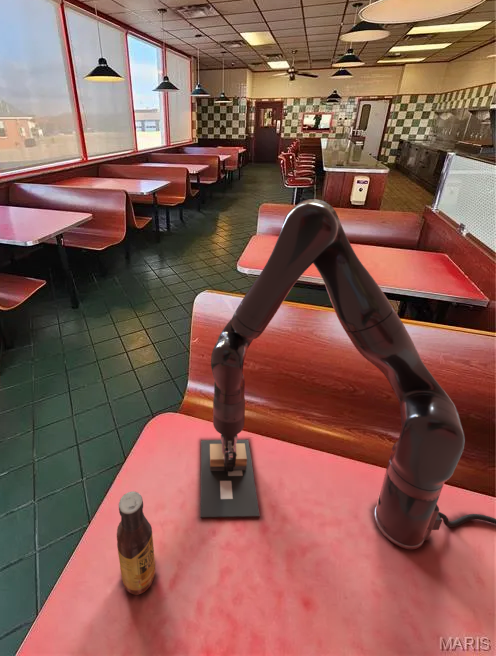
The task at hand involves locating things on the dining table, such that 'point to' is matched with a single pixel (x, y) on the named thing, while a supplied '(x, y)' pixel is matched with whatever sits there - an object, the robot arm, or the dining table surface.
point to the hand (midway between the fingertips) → (227, 460)
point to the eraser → (218, 456)
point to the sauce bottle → (135, 545)
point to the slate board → (227, 488)
